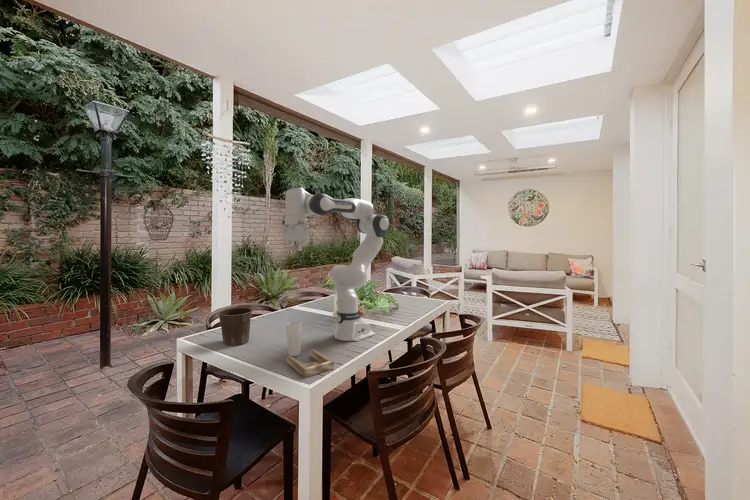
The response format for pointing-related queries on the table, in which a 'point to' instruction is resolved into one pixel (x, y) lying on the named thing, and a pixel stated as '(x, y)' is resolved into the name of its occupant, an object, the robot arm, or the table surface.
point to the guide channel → (312, 364)
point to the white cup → (294, 337)
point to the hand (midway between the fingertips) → (295, 250)
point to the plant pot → (235, 325)
